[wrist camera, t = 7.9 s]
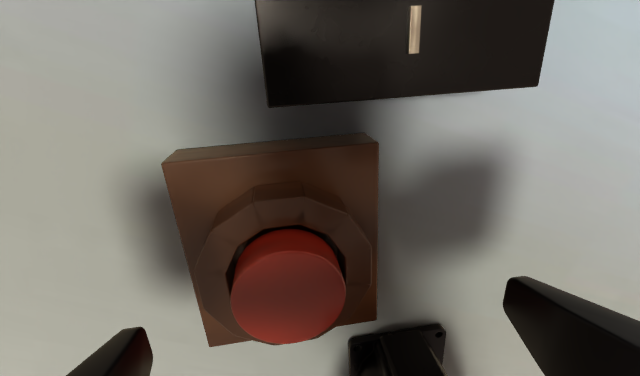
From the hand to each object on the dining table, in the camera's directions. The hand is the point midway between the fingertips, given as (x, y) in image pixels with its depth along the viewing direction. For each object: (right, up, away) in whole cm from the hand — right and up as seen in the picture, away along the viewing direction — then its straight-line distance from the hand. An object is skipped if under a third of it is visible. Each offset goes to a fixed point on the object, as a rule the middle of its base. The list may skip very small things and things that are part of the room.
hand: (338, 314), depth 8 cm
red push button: (-2, -1, +6) cm, 6 cm away
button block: (-2, +1, +9) cm, 9 cm away
